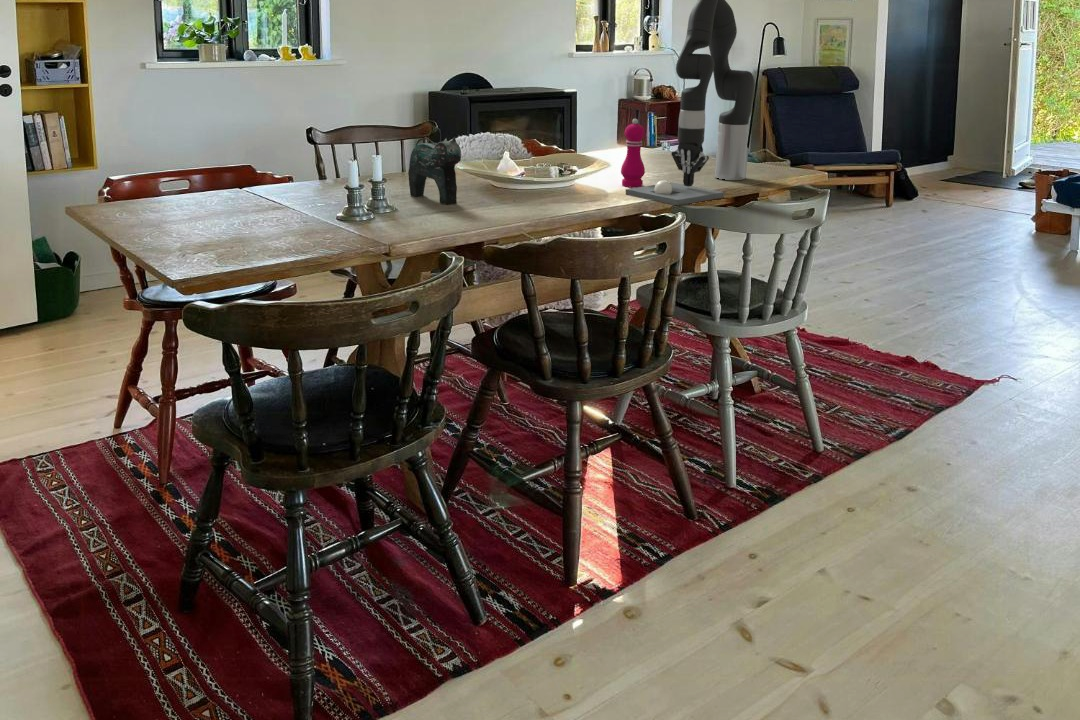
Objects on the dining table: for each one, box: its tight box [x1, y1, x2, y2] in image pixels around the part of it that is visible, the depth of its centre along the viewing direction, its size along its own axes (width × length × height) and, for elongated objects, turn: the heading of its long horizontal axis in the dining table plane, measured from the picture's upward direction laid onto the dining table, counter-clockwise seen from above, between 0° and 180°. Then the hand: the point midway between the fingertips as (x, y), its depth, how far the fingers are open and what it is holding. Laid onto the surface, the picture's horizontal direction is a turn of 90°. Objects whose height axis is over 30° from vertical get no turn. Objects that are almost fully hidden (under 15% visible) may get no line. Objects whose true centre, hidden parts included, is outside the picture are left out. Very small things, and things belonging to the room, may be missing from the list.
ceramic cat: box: [407, 127, 462, 206], centre depth 292 cm, size 20×6×20 cm, turn 42°
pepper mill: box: [620, 118, 646, 188], centre depth 318 cm, size 7×7×20 cm
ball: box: [654, 179, 672, 195], centre depth 303 cm, size 5×5×5 cm
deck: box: [625, 181, 725, 206], centre depth 307 cm, size 20×20×2 cm
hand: (688, 185), depth 310 cm, fingers closed
